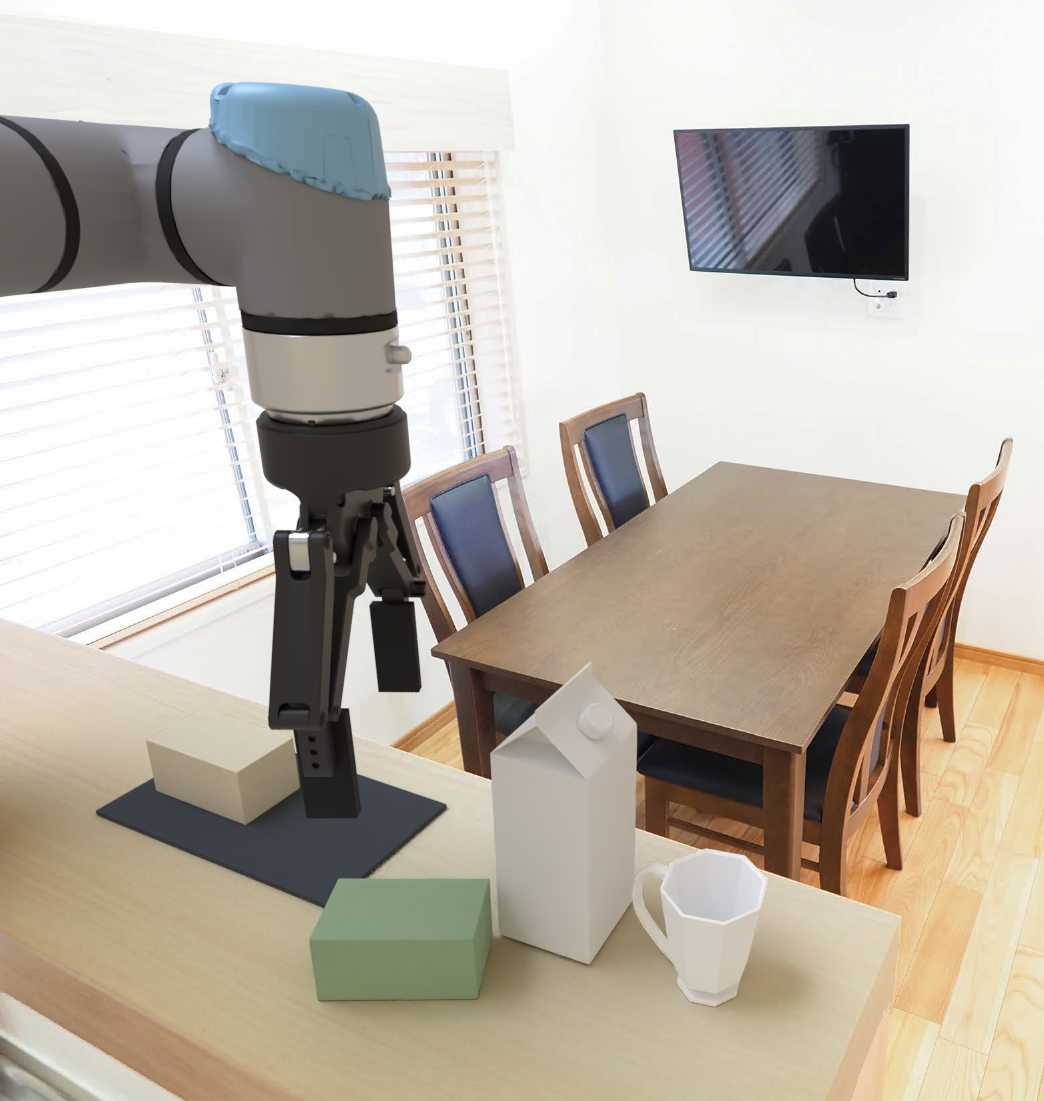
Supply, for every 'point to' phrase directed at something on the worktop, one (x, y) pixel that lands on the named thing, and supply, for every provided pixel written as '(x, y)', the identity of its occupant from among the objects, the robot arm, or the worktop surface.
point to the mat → (284, 835)
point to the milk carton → (566, 820)
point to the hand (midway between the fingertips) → (370, 745)
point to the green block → (402, 939)
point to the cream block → (224, 765)
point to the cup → (705, 920)
